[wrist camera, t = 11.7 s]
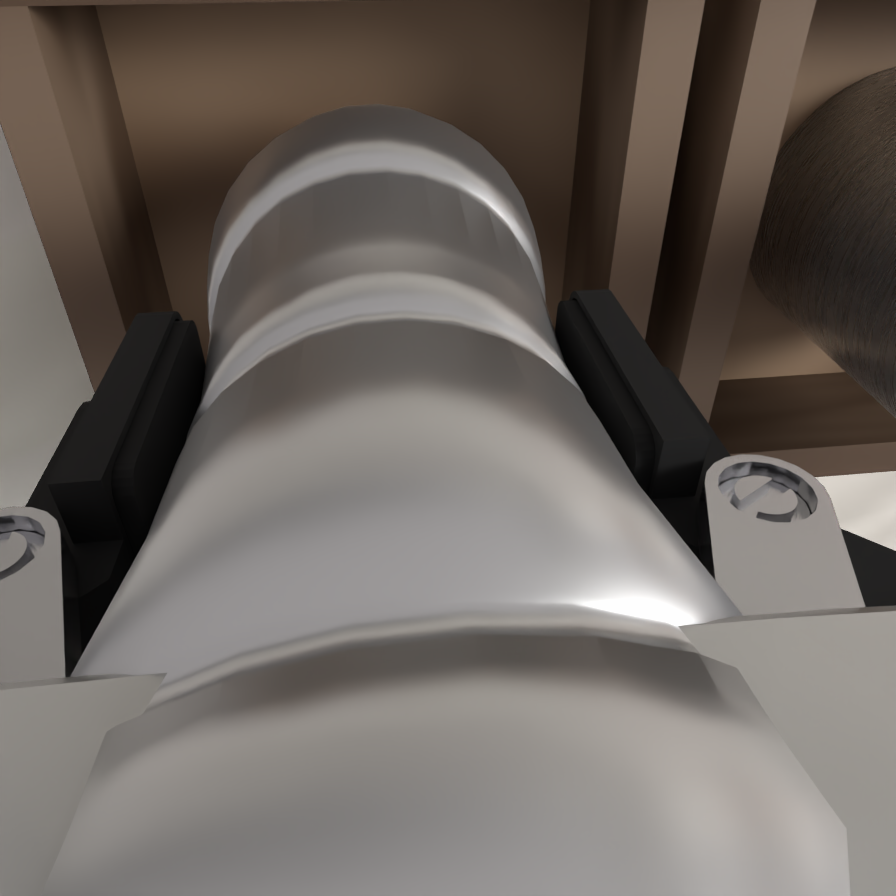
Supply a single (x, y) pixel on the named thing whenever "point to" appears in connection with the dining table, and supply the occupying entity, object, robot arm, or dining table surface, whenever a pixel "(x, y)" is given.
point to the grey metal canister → (838, 233)
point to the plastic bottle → (418, 584)
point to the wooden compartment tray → (492, 125)
